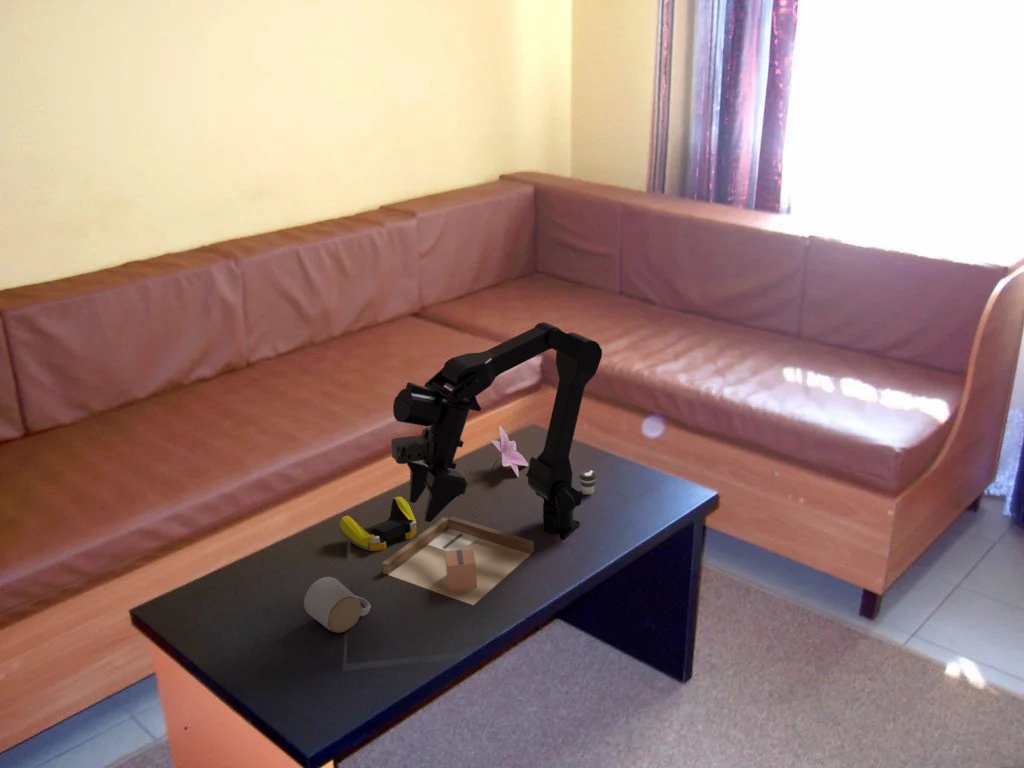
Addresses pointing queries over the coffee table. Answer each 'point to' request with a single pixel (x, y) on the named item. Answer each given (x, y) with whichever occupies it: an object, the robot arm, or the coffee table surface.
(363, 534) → the gaming controller
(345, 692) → the coffee table surface
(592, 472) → the coffee cup
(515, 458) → the lily
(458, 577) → the cube
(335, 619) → the ceramic mug
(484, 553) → the arena
